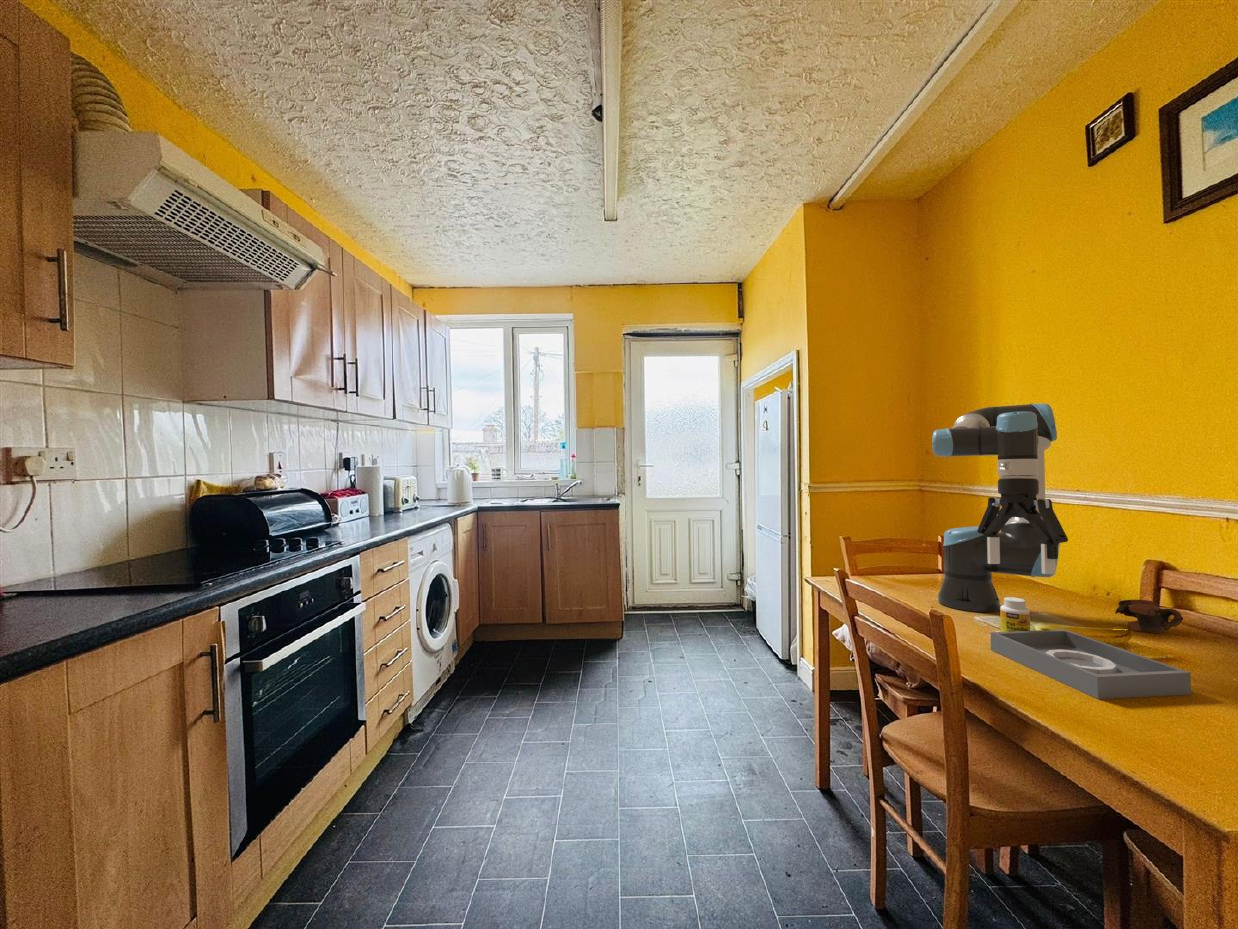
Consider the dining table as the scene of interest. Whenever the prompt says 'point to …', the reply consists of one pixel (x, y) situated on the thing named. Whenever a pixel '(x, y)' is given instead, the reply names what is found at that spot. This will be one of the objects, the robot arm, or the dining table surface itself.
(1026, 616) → the supplement bottle
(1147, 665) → the grey tray
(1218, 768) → the dining table surface
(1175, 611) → the pottery mug
